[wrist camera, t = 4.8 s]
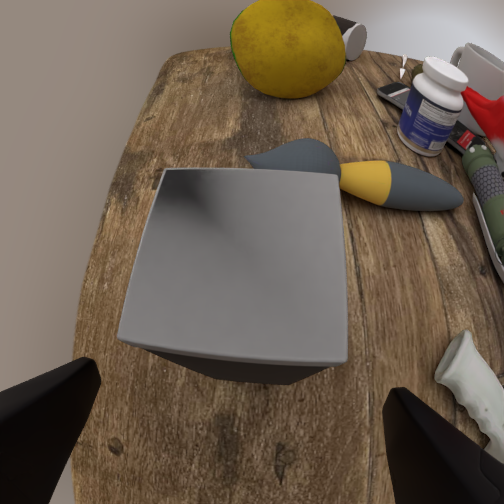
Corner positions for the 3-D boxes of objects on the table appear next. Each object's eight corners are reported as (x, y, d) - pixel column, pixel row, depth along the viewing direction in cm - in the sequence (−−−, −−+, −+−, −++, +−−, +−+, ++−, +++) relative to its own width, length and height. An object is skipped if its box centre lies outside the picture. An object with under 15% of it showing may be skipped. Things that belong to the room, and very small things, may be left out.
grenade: (488, 135, 21) (542, 268, 14) (487, 160, 24) (530, 284, 17) (454, 142, 23) (502, 279, 16) (456, 166, 26) (493, 294, 19)
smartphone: (476, 160, 24) (375, 88, 30) (473, 164, 25) (374, 93, 30) (486, 142, 26) (398, 81, 32) (483, 146, 27) (397, 85, 33)
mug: (499, 140, 28) (529, 85, 18) (463, 133, 28) (493, 67, 18) (460, 92, 33) (479, 42, 24) (422, 83, 33) (440, 26, 24)
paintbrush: (443, 178, 24) (463, 143, 20) (461, 219, 22) (487, 186, 17) (246, 171, 25) (242, 126, 20) (245, 219, 22) (240, 174, 18)
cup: (296, 9, 39) (370, 32, 34) (285, 38, 43) (356, 64, 38) (275, -2, 34) (356, 18, 29) (263, 30, 38) (341, 55, 33)
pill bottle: (399, 118, 29) (421, 48, 20) (441, 138, 27) (470, 72, 18) (392, 143, 26) (419, 63, 18) (439, 166, 25) (476, 93, 16)
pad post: (289, 385, 17) (348, 362, 5) (213, 379, 17) (115, 339, 5) (294, 314, 19) (338, 173, 7) (222, 309, 19) (164, 166, 8)
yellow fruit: (259, -27, 17) (237, -8, 28) (212, 81, 25) (206, 66, 35) (376, 32, 22) (323, 27, 33) (331, 123, 30) (291, 94, 41)
